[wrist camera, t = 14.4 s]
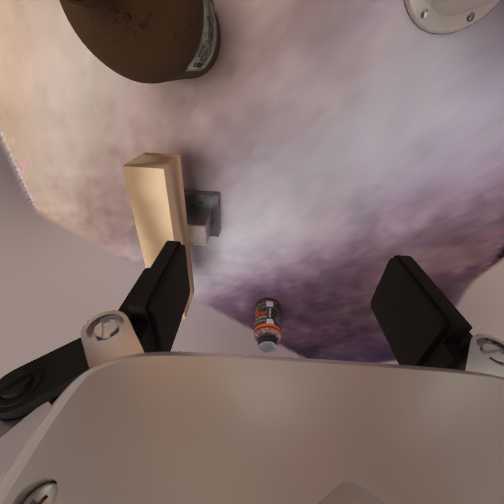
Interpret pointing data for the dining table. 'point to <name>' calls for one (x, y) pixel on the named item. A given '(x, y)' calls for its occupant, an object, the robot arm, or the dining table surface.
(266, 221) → the dining table surface
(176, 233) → the oak bar
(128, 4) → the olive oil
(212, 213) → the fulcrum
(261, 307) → the supplement bottle
